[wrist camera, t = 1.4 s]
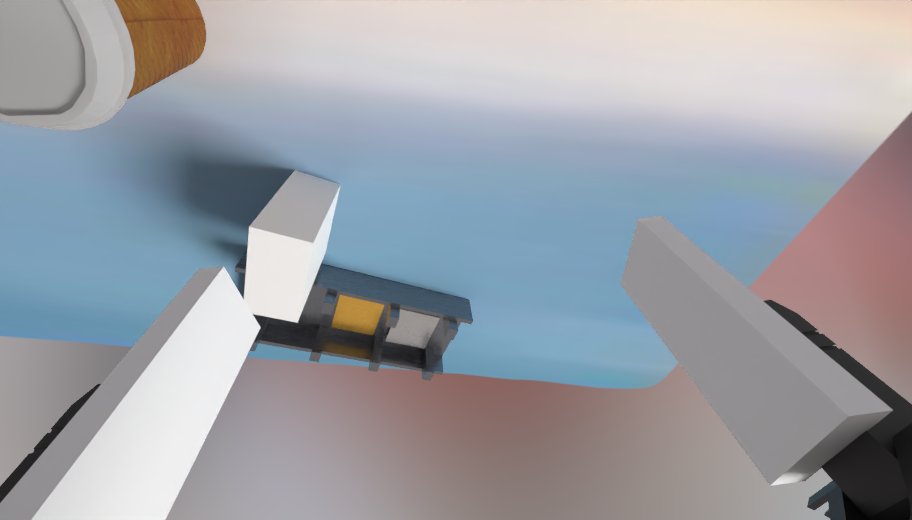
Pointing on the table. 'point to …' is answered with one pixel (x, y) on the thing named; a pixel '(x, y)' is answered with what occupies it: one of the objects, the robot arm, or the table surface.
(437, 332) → the rack
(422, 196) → the table surface
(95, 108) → the disposable coffee cup
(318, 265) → the white box
